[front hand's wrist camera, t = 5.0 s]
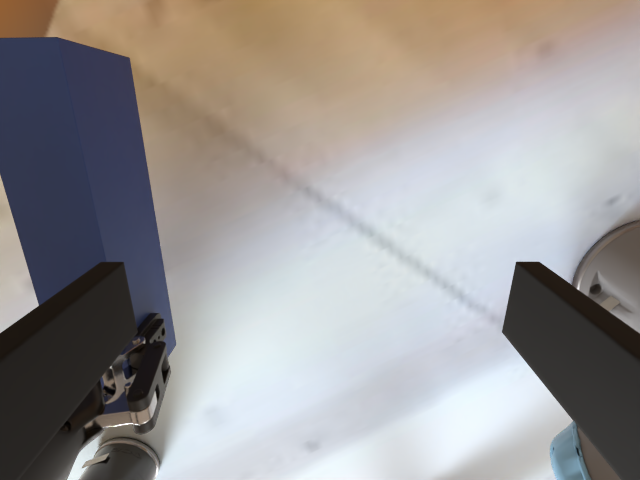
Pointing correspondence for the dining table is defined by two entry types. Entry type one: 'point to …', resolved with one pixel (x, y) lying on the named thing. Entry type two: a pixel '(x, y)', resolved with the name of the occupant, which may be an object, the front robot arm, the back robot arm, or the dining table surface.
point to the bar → (78, 170)
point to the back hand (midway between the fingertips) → (122, 322)
